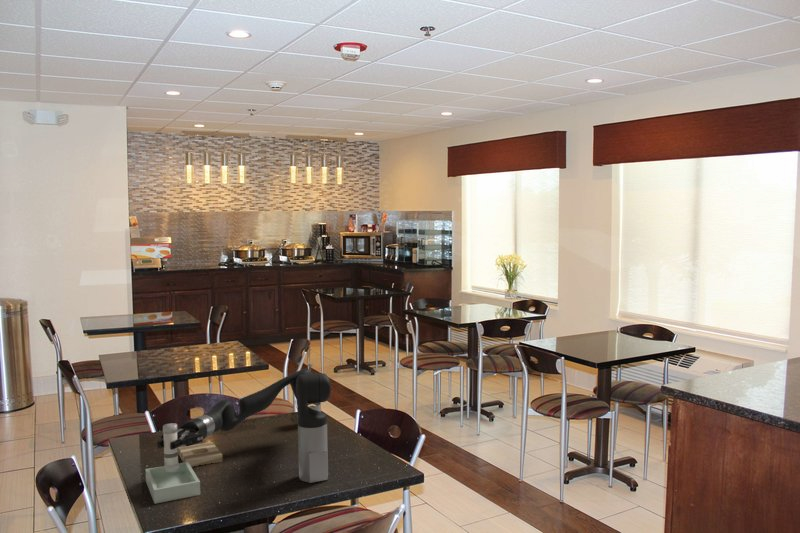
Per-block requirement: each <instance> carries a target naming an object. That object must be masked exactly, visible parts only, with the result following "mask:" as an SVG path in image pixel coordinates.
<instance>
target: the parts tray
mask: <svg viewBox="0 0 800 533" xmlns="http://www.w3.org/2000/svg"><path fill="white" fill-rule="evenodd" d="M145 483H146V485H147V488H148V490H149V494H150V495H151V498H152V501H153V504H159V503H160V504H161V503H166V502H170V501H176V500H181V499H185V498H191V497H196V496H201V481H200V479H199V477H198V476H197V474H196V472H195V471H194V469H193V467H191V466H190V464H189V463H188V462H184V463H183V462H180V463H179V470H178V471H175V472H165V471H164V465H162V466H161V465H160V466H157V467H156V466H155V467H150V468H149V467H148V468H145Z"/></svg>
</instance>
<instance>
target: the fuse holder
mask: <svg viewBox="0 0 800 533" xmlns="http://www.w3.org/2000/svg"><path fill="white" fill-rule="evenodd" d="M178 457H179V458H180V459H181V461H182V463H184V462H188V463H189V464H190V466H191V468H193V467H194V466H195V467H199V465H201V466H205V464H206V465H211V463H212V464H216V463H217V464H218V463H222V462H223V454H222V452H221V451H220V450H219V448H218V447H217V446H216V445H215V443H214V442H213V441H211V442H203V443H197V444H193V445H190V446H186V445H184V446H182V447H181V446H179V447H178Z"/></svg>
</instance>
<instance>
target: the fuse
mask: <svg viewBox="0 0 800 533" xmlns="http://www.w3.org/2000/svg"><path fill="white" fill-rule="evenodd" d="M177 430H178V424H177V423H173V422H172V423H171V422H170V423H166V424H163V425H162V434H163V436H164V447H163V460H164V464H163V466H164V471H165V472H175V471H178V470H179V454H178V447H177V448H175V449H173V450H172V449H170V443H171V442H173V441H175V440H177Z"/></svg>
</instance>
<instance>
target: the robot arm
mask: <svg viewBox="0 0 800 533" xmlns="http://www.w3.org/2000/svg"><path fill="white" fill-rule="evenodd" d="M289 385H290V386H291V389H292V393H293V396H294V397H295V400H296V406H297V408H298V409H297V436H298V437H297V443H298V444H297V445H298V451H297V452H298V478H299V480H300V481H302V482H305V483H308V484H313V483H317V482H323V481H327V480H328V479H329V459H328V458H329V456H328V454H329V452H328V421H327V420H328V417H327V415H326V413H324V412H322V411H321V412H320V411H316V410H313V409H311V408H309V405H308V406H307V404H308V403H325V402H327V401H328V400H329V399H330V397H331V394H332V384H331V379H330V378H329V376H328V375H327V374H326V373H322V372H320V373H319V372H317V373H313V371H312V369H311V370H310V368H304V369H303V368H302V369H301V370H296V371H295V372H293V373H291V374H288V375H287V376H284V377H283V378H281V379H279V380H277V381H275V382H274V383H272V384H270V385H269V386H266V387H265V388H264V387H263V389H260V390H258V391H256V392H253V393H251V394H249V395H246V396H244V397H241V398H240V399H238V400H239V401H238V413H236V410H235V407H234V404H233V402H232V401H230V400H228V399H223V400H219V401H217V402H216V403H215V404H214V405H213V406H212V407H211V408H210V410H209V411H208V412H207V413H205V414H202V415H199V416H197V417H194V418H192V419H190V420H187V421H186V422H184V423H183V424H182V425H181V427H180V429H177V440H175V441H173V442H171V443H170V449H172V450H173V449H175V448H177V447H184V446H190V445H196V444H201V443H202V442H203V440H205V439H207V438H209V437H210V436H211V435H212V434H214V433H216V432H218V431H223V432H228V431H231V430H233V429H234V428H236V427H237V426H238V425H239V424H240V423H241V422H243V421H244V420H246V419H247V418H249V417H251V416H253V415H255V414H258V413H261V412H262V411H264V410H266V409H268V408H269V407H270V406H271V404H273V402H274V401H275V399H276V398H277V396H278V395H279V394H280V393H281V391H282V390H283V389H284V388H286V387H287V386H289ZM156 444H157V449H162V448H164V436H163V433H162V434H161V435H160V440H158V441H157V442H156Z"/></svg>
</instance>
